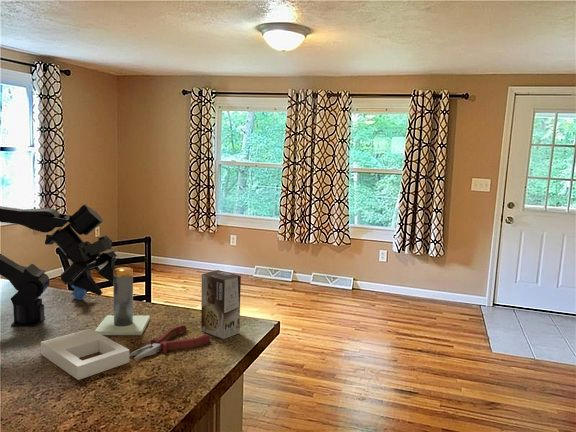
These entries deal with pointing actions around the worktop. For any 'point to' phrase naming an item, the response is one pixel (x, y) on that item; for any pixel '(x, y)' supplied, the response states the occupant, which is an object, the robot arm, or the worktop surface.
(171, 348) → the pliers
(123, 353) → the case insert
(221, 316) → the coffee box
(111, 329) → the mat
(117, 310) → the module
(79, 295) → the grapes
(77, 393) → the worktop surface
